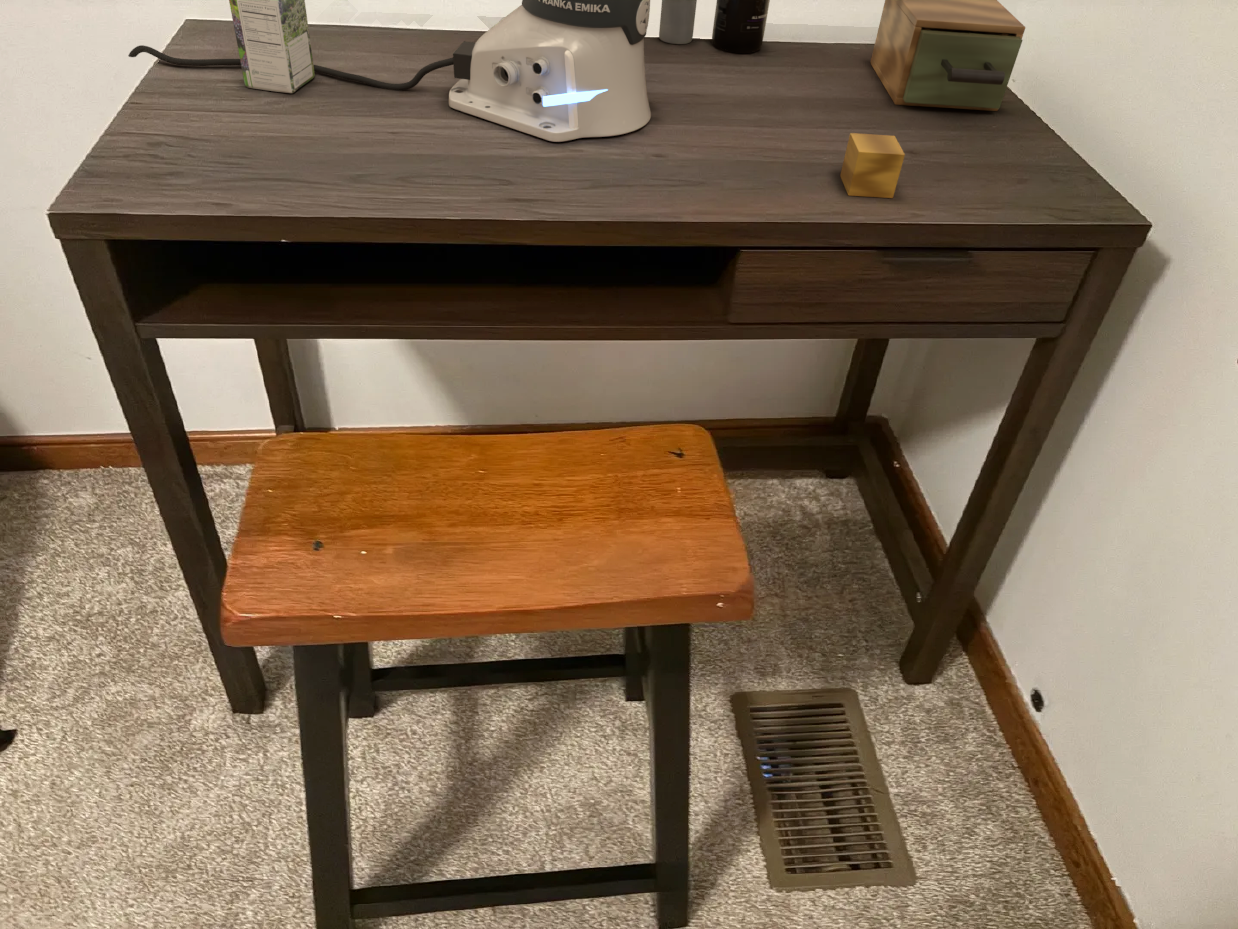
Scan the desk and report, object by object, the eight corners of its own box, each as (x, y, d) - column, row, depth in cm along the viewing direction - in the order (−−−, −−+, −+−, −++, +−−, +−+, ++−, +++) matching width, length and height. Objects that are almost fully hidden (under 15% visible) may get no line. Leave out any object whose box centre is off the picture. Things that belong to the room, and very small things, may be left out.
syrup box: (269, 71, 106) (243, -72, 96) (318, 77, 105) (296, -66, 96) (244, 88, 102) (214, -60, 92) (294, 95, 101) (269, -53, 91)
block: (848, 195, 91) (858, 151, 88) (839, 175, 94) (850, 132, 91) (892, 198, 91) (905, 154, 88) (883, 178, 95) (894, 135, 92)
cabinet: (997, 111, 111) (1025, 26, 105) (894, 104, 111) (917, 19, 104) (963, 69, 122) (987, -10, 116) (870, 63, 122) (888, -17, 115)
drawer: (1012, 124, 106) (1037, 54, 101) (915, 118, 105) (935, 47, 100) (967, 69, 119) (987, 4, 114) (880, 63, 119) (896, -2, 114)
